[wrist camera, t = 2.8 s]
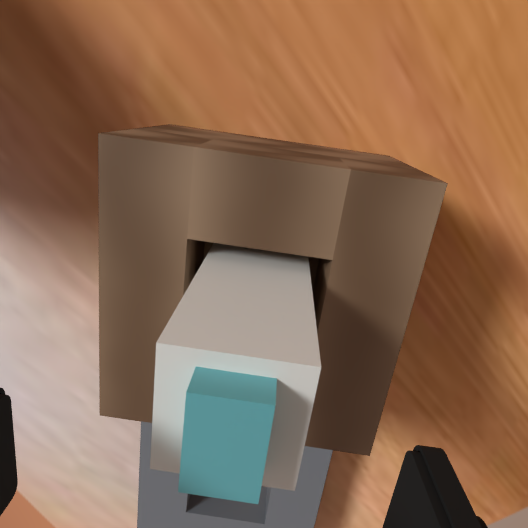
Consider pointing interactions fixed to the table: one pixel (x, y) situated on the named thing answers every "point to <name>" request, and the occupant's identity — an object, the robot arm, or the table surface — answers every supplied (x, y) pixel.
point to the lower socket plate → (228, 511)
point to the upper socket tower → (264, 238)
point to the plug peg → (237, 375)
